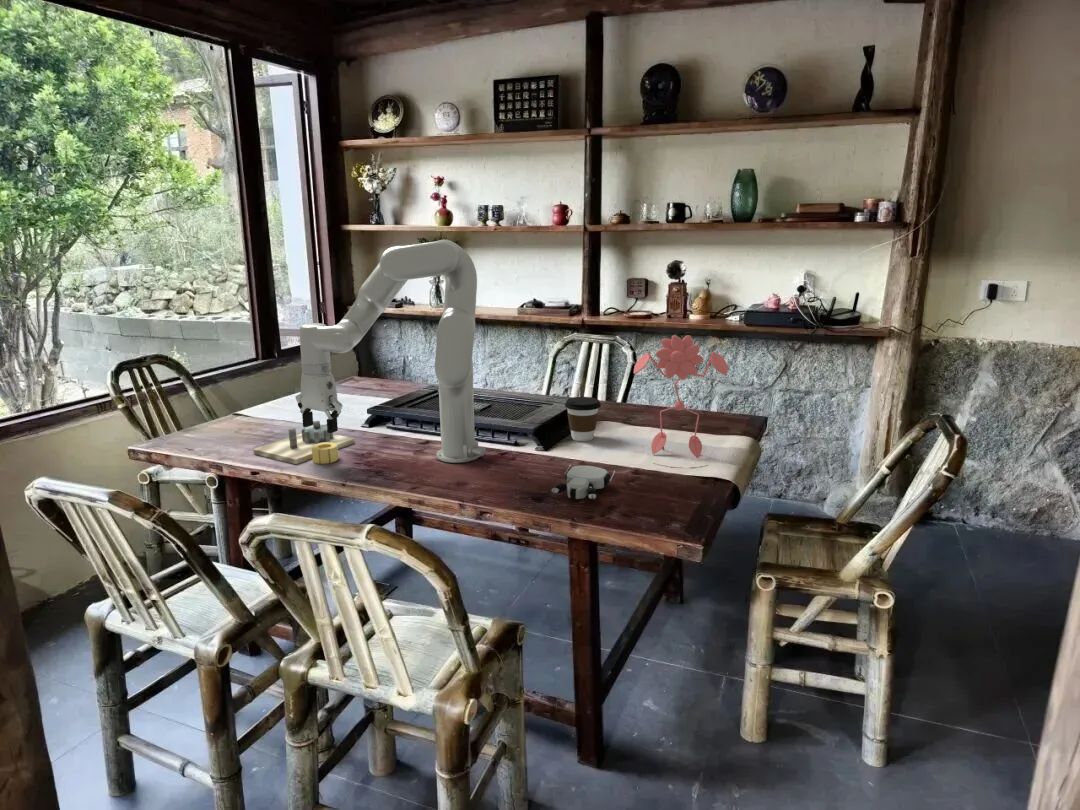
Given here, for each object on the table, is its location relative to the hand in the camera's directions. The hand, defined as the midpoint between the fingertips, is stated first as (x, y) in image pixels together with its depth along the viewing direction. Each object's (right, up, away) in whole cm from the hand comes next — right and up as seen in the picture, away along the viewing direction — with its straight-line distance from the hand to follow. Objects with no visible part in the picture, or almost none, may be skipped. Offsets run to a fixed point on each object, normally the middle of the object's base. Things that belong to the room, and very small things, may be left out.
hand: (320, 429), depth 194 cm
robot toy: (+72, -15, -22) cm, 77 cm away
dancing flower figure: (+99, -8, 0) cm, 99 cm away
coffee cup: (+74, -4, +19) cm, 77 cm away
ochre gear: (+1, -9, +2) cm, 9 cm away
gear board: (-8, -6, +12) cm, 16 cm away
